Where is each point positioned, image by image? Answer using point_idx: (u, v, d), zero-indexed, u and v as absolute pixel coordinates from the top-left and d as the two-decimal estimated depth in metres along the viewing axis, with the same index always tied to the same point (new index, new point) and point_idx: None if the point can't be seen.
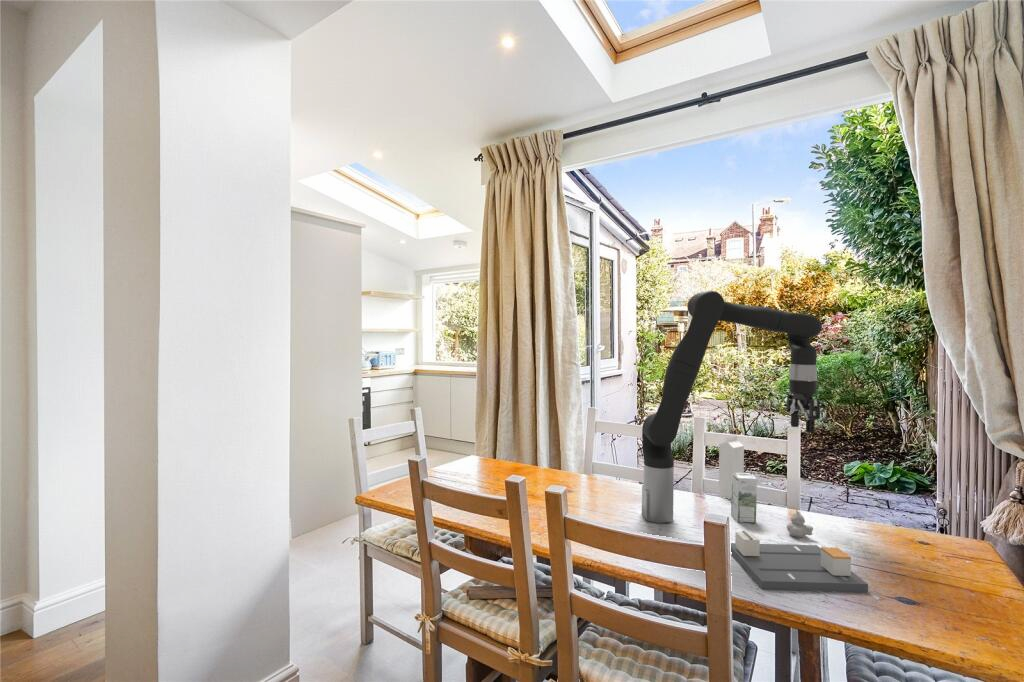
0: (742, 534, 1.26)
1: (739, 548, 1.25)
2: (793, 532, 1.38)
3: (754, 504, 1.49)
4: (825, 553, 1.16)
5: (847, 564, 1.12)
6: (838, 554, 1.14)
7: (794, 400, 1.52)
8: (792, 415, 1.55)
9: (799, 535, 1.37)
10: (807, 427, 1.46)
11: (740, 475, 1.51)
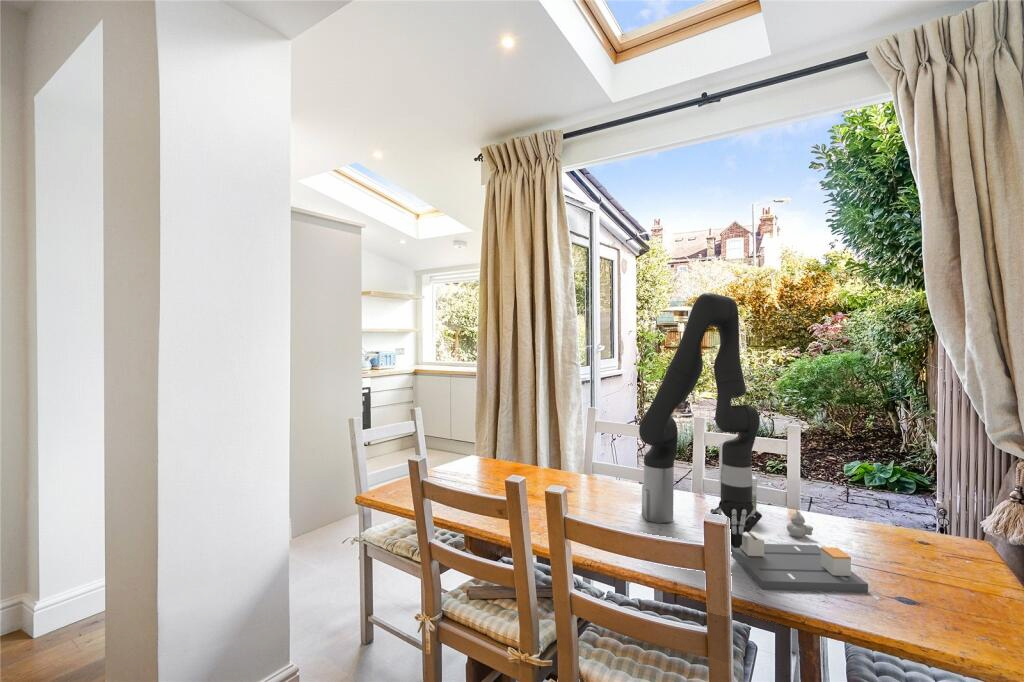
0: (747, 534, 1.26)
1: (744, 548, 1.25)
2: (793, 532, 1.38)
3: (754, 504, 1.49)
4: (825, 553, 1.16)
5: (847, 564, 1.12)
6: (838, 554, 1.14)
7: (734, 510, 1.23)
8: (736, 534, 1.24)
9: (799, 535, 1.37)
10: (739, 542, 1.24)
11: None
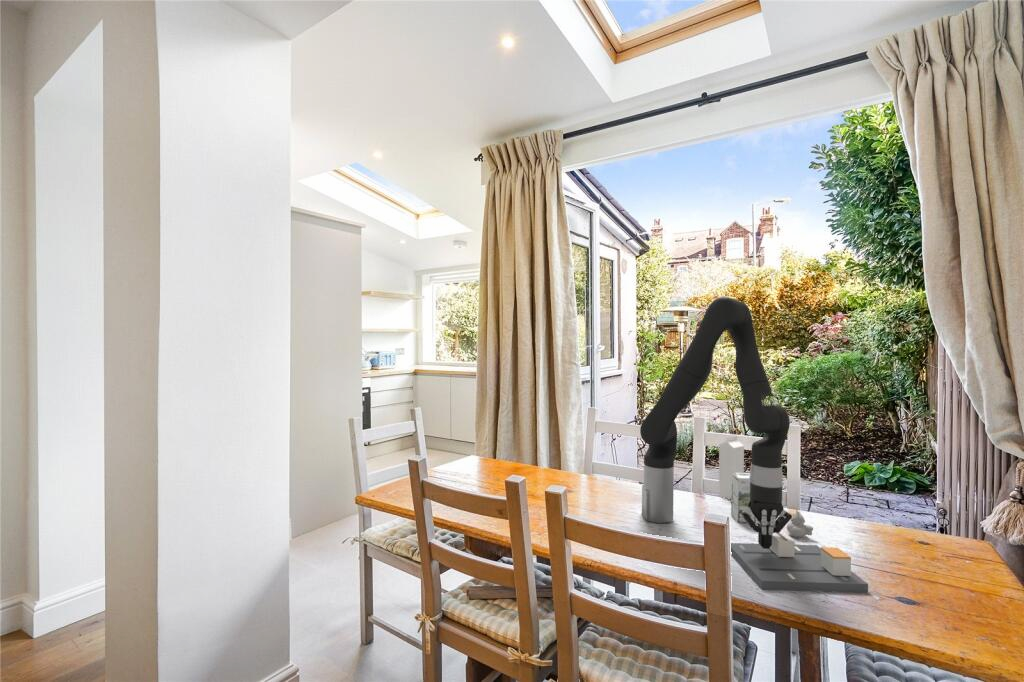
0: (776, 535, 1.25)
1: (773, 549, 1.24)
2: (793, 532, 1.38)
3: None
4: (825, 553, 1.16)
5: (847, 564, 1.12)
6: (838, 554, 1.14)
7: (764, 511, 1.22)
8: (765, 534, 1.24)
9: (799, 535, 1.37)
10: (769, 543, 1.24)
11: (740, 475, 1.51)
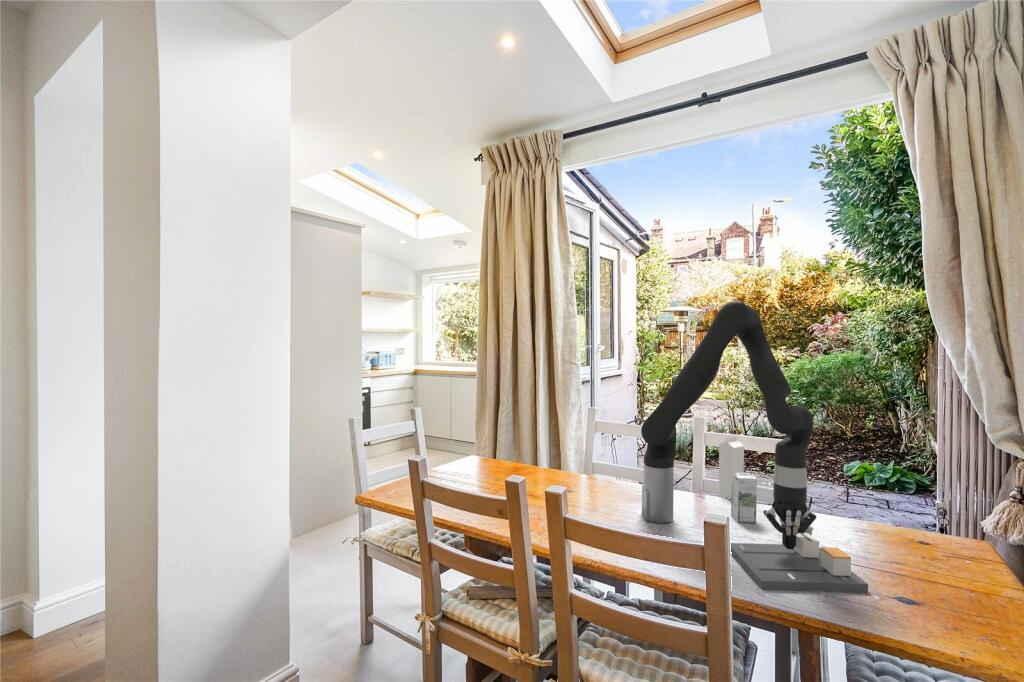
0: (800, 535, 1.25)
1: (797, 549, 1.24)
2: None
3: (754, 504, 1.49)
4: (825, 553, 1.16)
5: (847, 564, 1.12)
6: (838, 554, 1.14)
7: (788, 511, 1.22)
8: (790, 535, 1.23)
9: None
10: (793, 543, 1.23)
11: (740, 475, 1.51)
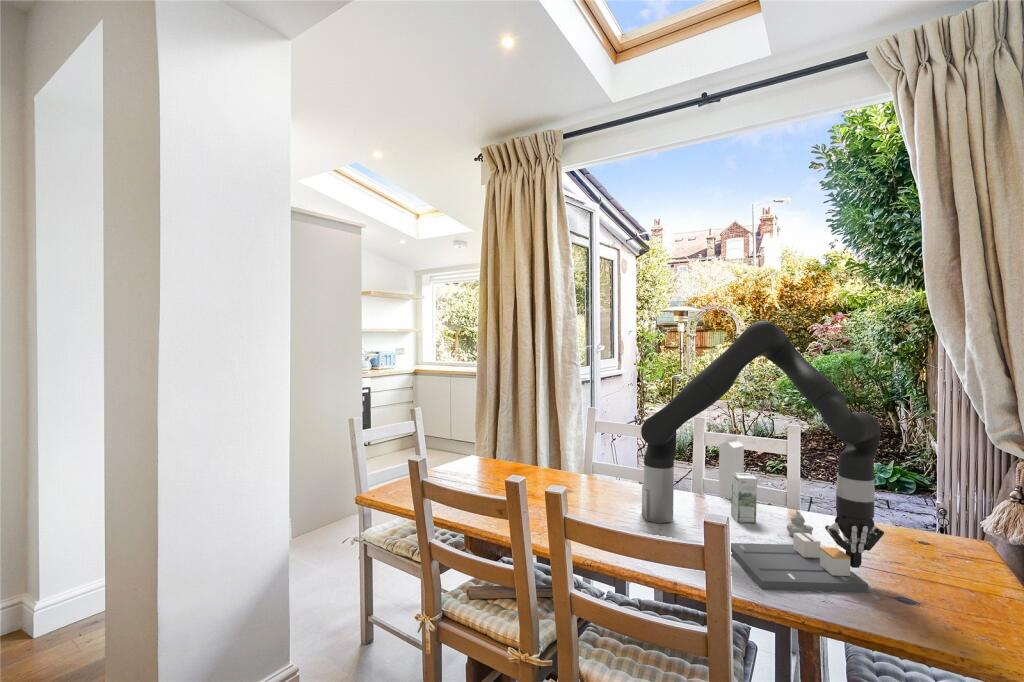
0: (801, 535, 1.25)
1: (798, 549, 1.24)
2: (793, 532, 1.38)
3: (754, 504, 1.49)
4: (825, 553, 1.16)
5: (846, 564, 1.13)
6: (838, 554, 1.14)
7: (854, 527, 1.13)
8: (855, 552, 1.14)
9: None
10: None
11: (740, 475, 1.51)
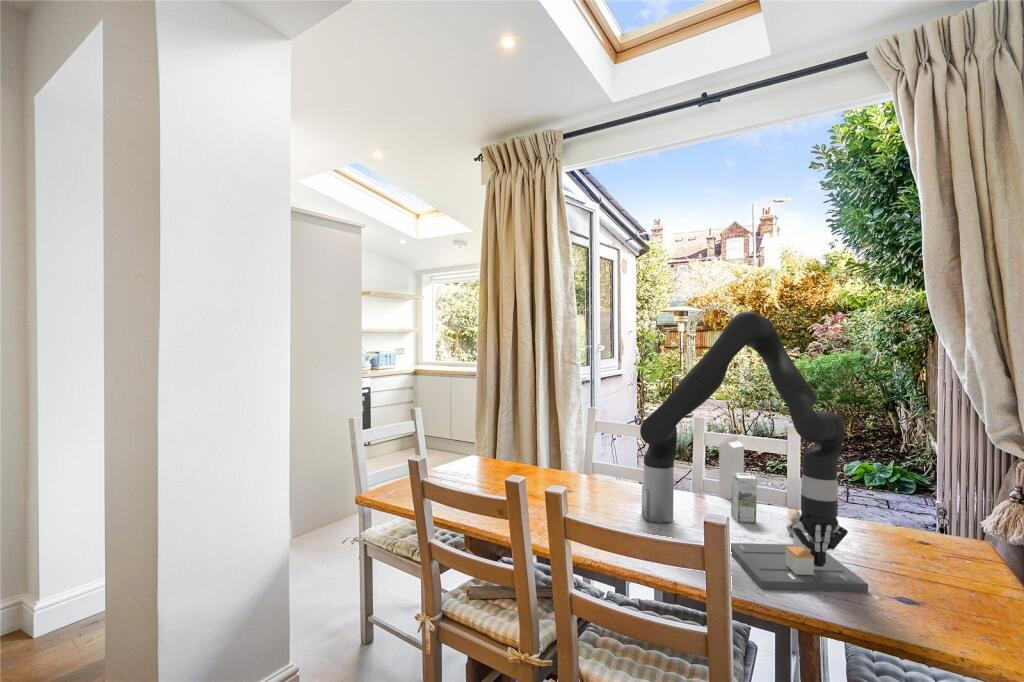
0: None
1: None
2: (793, 532, 1.38)
3: (754, 504, 1.49)
4: (790, 552, 1.16)
5: (810, 563, 1.13)
6: (802, 553, 1.14)
7: (818, 526, 1.13)
8: (819, 551, 1.15)
9: None
10: None
11: (740, 475, 1.51)
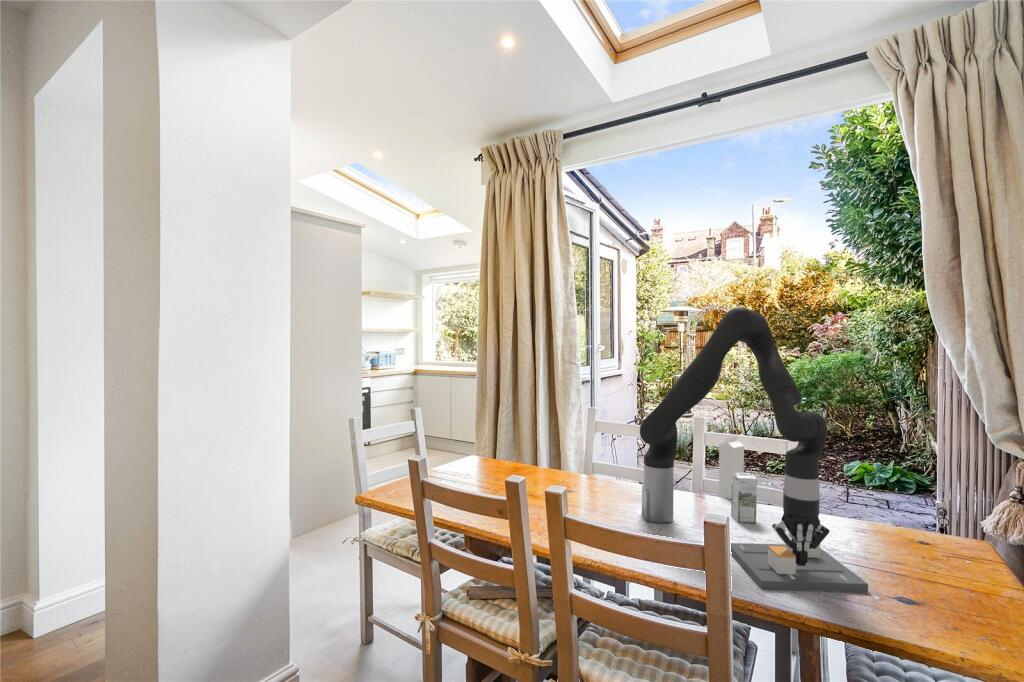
0: None
1: None
2: None
3: (754, 504, 1.49)
4: (772, 552, 1.16)
5: (792, 563, 1.13)
6: (784, 552, 1.15)
7: (799, 525, 1.14)
8: (801, 550, 1.15)
9: None
10: (804, 559, 1.15)
11: (740, 475, 1.51)
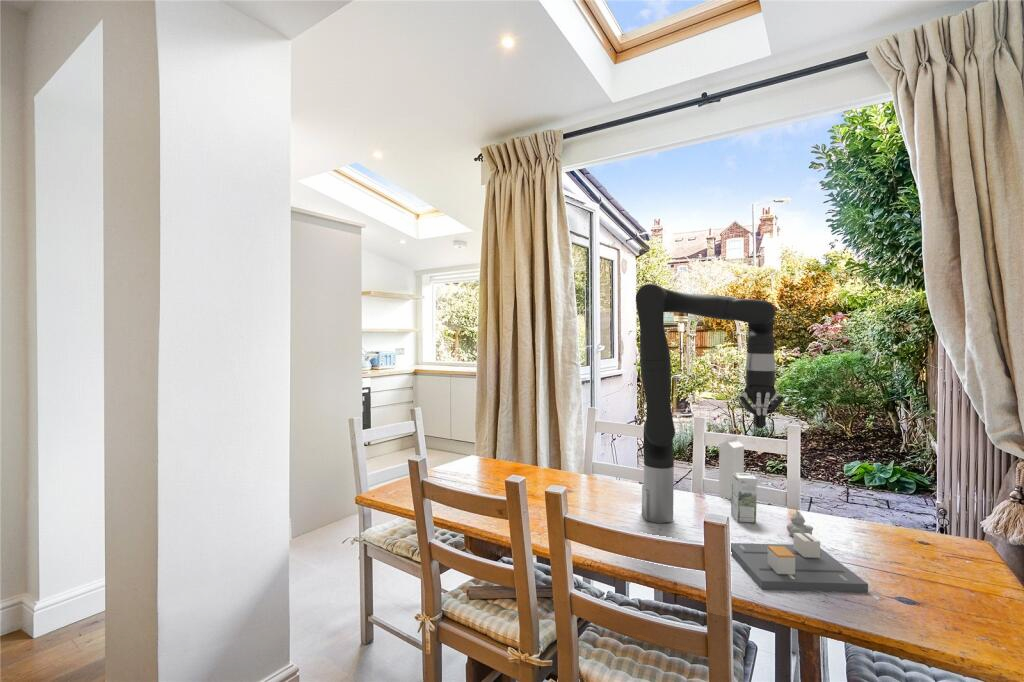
0: (801, 535, 1.25)
1: (798, 549, 1.24)
2: (793, 532, 1.38)
3: (754, 504, 1.49)
4: (771, 552, 1.16)
5: (791, 563, 1.13)
6: (783, 552, 1.15)
7: (758, 393, 1.37)
8: (760, 415, 1.38)
9: None
10: (763, 423, 1.38)
11: (740, 475, 1.51)
